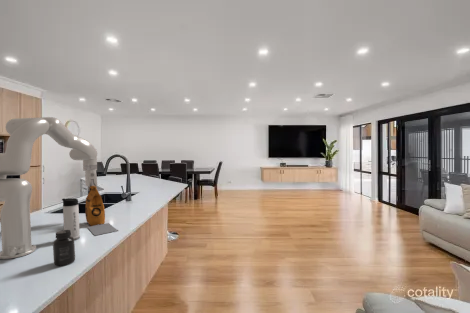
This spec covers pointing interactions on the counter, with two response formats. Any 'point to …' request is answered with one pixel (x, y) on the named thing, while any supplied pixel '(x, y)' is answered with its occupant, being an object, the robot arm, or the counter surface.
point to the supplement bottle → (63, 248)
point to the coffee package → (94, 208)
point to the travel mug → (71, 216)
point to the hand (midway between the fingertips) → (91, 197)
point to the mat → (102, 229)
